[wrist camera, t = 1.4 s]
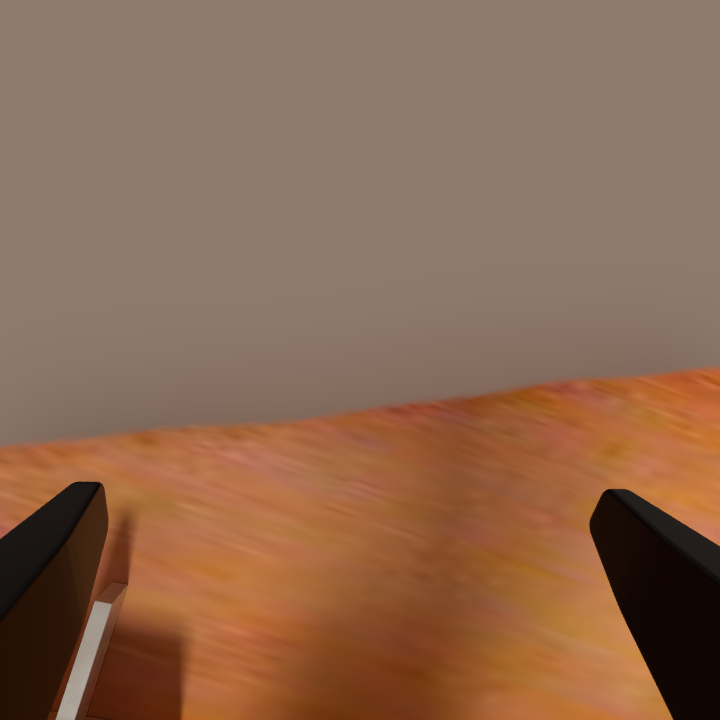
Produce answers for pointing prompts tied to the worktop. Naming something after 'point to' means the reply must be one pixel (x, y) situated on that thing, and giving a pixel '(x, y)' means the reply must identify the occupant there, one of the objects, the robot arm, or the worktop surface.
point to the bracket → (91, 655)
